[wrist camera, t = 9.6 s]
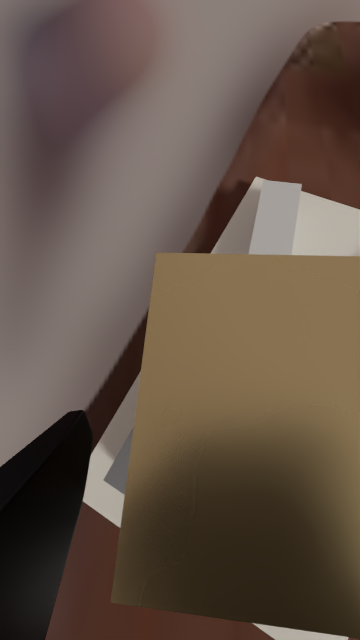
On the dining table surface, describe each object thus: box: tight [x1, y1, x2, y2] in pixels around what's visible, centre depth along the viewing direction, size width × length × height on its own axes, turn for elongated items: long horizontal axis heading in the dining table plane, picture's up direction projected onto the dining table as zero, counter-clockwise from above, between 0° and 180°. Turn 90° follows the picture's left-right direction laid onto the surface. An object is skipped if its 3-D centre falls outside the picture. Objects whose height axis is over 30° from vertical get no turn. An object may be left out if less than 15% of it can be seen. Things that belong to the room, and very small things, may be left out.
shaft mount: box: [83, 177, 360, 640], centre depth 16 cm, size 13×22×4 cm, turn 151°
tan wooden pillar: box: [111, 253, 360, 639], centre depth 10 cm, size 5×5×13 cm
